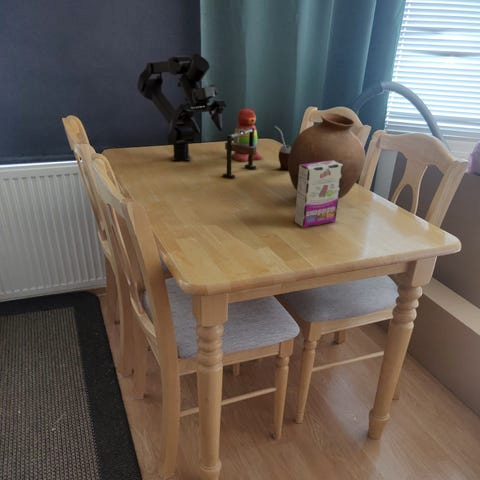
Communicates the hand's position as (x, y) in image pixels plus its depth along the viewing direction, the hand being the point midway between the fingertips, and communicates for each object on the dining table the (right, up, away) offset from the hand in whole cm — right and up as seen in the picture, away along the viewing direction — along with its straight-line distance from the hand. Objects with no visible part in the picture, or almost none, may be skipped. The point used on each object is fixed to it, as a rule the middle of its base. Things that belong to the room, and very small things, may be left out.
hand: (210, 132), depth 165 cm
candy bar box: (+31, -37, -29) cm, 57 cm away
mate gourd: (+27, -9, +13) cm, 32 cm away
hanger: (+10, -6, +4) cm, 12 cm away
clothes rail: (+10, -12, +8) cm, 17 cm away
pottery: (+36, -26, -12) cm, 46 cm away
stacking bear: (+12, -1, +25) cm, 28 cm away
